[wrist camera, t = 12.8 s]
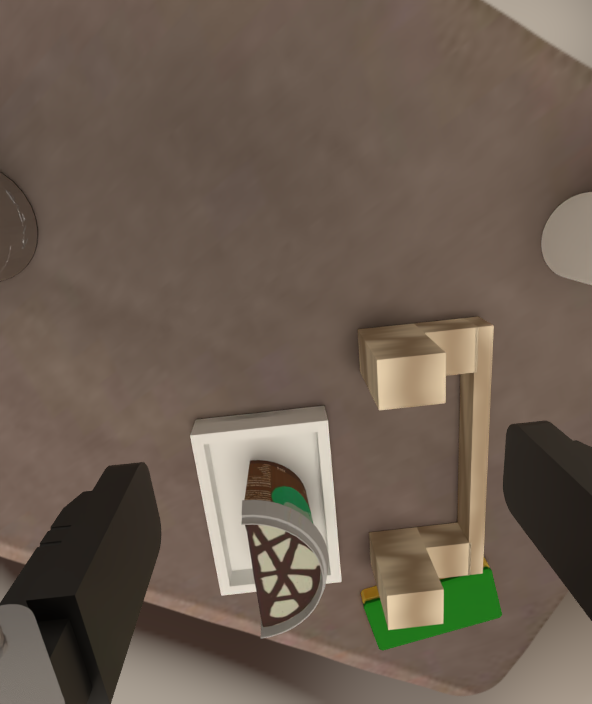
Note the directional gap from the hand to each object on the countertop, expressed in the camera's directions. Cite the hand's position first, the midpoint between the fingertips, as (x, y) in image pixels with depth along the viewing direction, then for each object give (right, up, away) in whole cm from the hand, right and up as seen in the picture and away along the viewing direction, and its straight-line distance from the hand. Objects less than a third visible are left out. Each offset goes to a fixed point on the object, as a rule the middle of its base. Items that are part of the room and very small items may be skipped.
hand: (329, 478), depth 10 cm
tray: (-3, -11, +35) cm, 37 cm away
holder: (+11, -7, +35) cm, 37 cm away
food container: (-2, -11, +35) cm, 37 cm away
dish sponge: (+14, -24, +41) cm, 50 cm away
